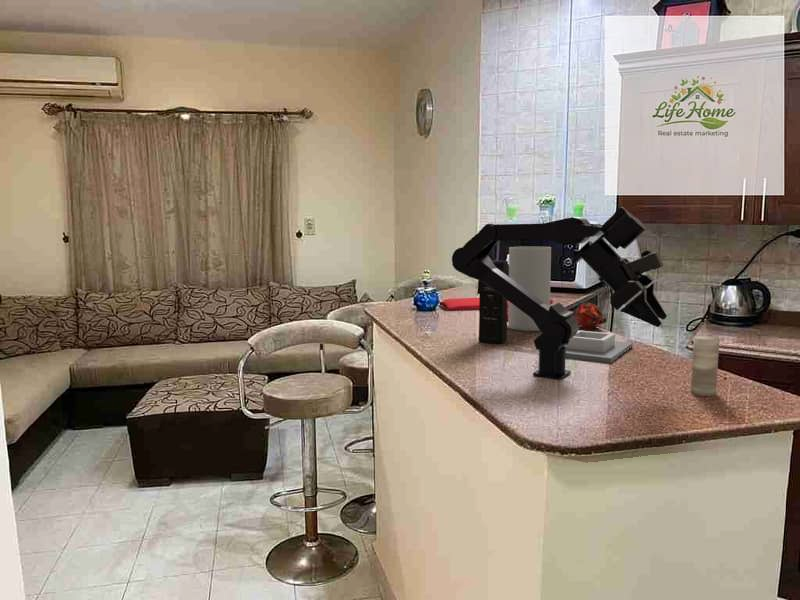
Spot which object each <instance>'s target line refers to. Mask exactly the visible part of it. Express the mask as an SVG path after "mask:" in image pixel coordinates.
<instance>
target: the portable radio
mask: <svg viewBox="0 0 800 600" xmlns="http://www.w3.org/2000/svg"><path fill="white" fill-rule="evenodd" d="M491 260H492V259H491ZM492 262H493V263H494V265H495V267H496V268H497V269H499V270H500V271H502V272H503V273H504V274H506V275H507V276H508V277H509V260H507V259H506V251H503V257H502V260H498V259H497V260H492ZM477 295H478V296H479V297H478V298H479V310H478V314H479V315H478V317H479V318H478V320H479V321H478V342H479V343H483V344H484V343H485V344H494V345H496V344H497V345H503V344H505V343H506V342H507V341H508V322H507V309H508V308H507V299H505V298H504V297H503V296H501V295H500V294H499V293H497V292H496V291H495V290H493V289H492V288H491V287H489V286H488V285H487V284H485V283H484V282H482V281H480V280H477Z"/></svg>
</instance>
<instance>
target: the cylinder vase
mask: <svg viewBox="0 0 800 600" xmlns="http://www.w3.org/2000/svg"><path fill="white" fill-rule="evenodd" d="M551 266H552V247H551V246H539V245H538V246H537V245H536V246H533V245H532V246H529V245H528V246H510V247H508V277H510V278H511V279H512V280H514V281H515V282H517V283H518V284H519V285H521V286H522V287H523V288H525V289H526V290H527V291H529V292H530V293H532V294H533V295H534V296H536V297H537V298H538V299H540V300H541V301H542V302H544V303H545V304H548V305H550V299H551V275H552V274H551V270H552V269H551V268H552V267H551ZM550 306H551V305H550ZM508 309H509V314H508V322H507V327H508V328H510V329H511V330H513V331H520V332H541V331H540V330H539V329H538V327H537V326H536V324H535V322H534V321H533V319H532V318H531V317H529V316H528V315H527V314H525V313H524V312H523V311H521V310H520V309H519V308H517V307H516V306H515V305H513V304H512V303H511V302H509V308H508Z"/></svg>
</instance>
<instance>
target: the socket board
mask: <svg viewBox="0 0 800 600" xmlns="http://www.w3.org/2000/svg"><path fill="white" fill-rule="evenodd" d="M633 345H634V344H633V342H627V341H616V333H611V332H600V331H589V330H579V329H578V332H577V334H576V335H575V336H574V337H572V338H571V339H570V340H569V343H568V344H567V345H565V347H566V359H574V360H582V361H590V362H598V363H605V362H606V363H608V364H612V363H614V362H615V361H616V360H617V359H619V358H620V357H621V356H623V355H624V354H625V353H624V352H625V351H627V350H628V349H629V348H630V347H632V346H633ZM633 347H634V346H633ZM633 347H632V348H633ZM628 351H629V350H628ZM628 351H627V352H628ZM623 353H624V354H623ZM622 354H623V355H622ZM620 355H621V356H620ZM619 356H620V357H619ZM618 357H619V358H618Z"/></svg>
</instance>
